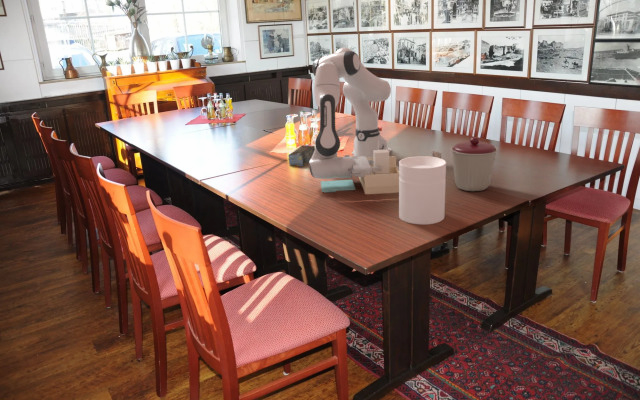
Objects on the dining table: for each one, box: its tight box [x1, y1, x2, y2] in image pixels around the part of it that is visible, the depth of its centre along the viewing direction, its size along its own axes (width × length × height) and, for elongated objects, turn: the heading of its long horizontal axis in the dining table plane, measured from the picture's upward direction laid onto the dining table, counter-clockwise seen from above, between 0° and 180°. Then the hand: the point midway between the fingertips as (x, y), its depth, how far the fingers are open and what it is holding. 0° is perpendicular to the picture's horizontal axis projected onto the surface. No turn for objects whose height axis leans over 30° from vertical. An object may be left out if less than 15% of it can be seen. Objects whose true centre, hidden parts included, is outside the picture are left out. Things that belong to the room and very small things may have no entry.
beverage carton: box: [288, 145, 316, 167], centre depth 265 cm, size 8×19×7 cm, turn 161°
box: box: [373, 150, 390, 174], centre depth 221 cm, size 6×5×14 cm
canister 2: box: [450, 136, 499, 192], centre depth 210 cm, size 18×18×21 cm
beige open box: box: [358, 155, 399, 195], centre depth 222 cm, size 17×27×8 cm, turn 2°
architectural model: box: [432, 150, 442, 159], centre depth 244 cm, size 3×7×7 cm, turn 32°
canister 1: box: [398, 155, 447, 225], centre depth 183 cm, size 16×16×20 cm
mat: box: [320, 179, 356, 193], centre depth 223 cm, size 14×14×1 cm
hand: (379, 165), depth 221 cm, fingers open, 8 cm apart
